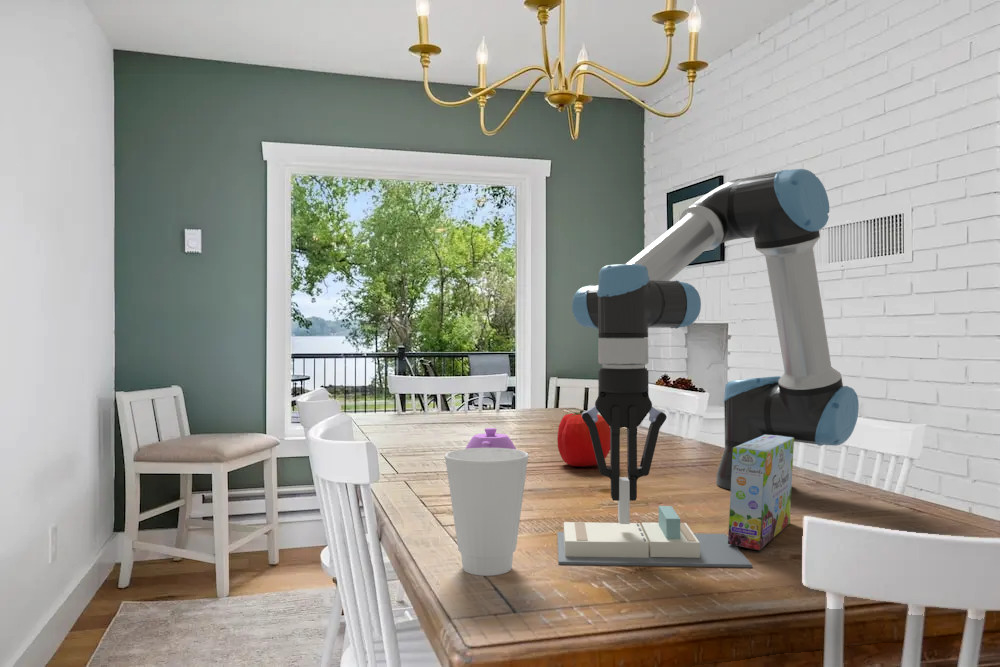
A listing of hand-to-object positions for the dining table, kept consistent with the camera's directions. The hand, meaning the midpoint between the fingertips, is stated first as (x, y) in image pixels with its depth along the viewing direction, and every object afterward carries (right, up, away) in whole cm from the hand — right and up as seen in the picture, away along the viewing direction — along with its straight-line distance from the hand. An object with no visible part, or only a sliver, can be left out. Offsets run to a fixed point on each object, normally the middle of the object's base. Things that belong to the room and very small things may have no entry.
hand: (623, 521), depth 114 cm
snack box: (+24, -4, +7) cm, 25 cm away
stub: (+7, -4, 0) cm, 8 cm away
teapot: (-21, -4, +63) cm, 66 cm away
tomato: (+2, -4, +70) cm, 70 cm away
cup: (-21, -5, -9) cm, 23 cm away
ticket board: (+3, -4, 0) cm, 5 cm away
